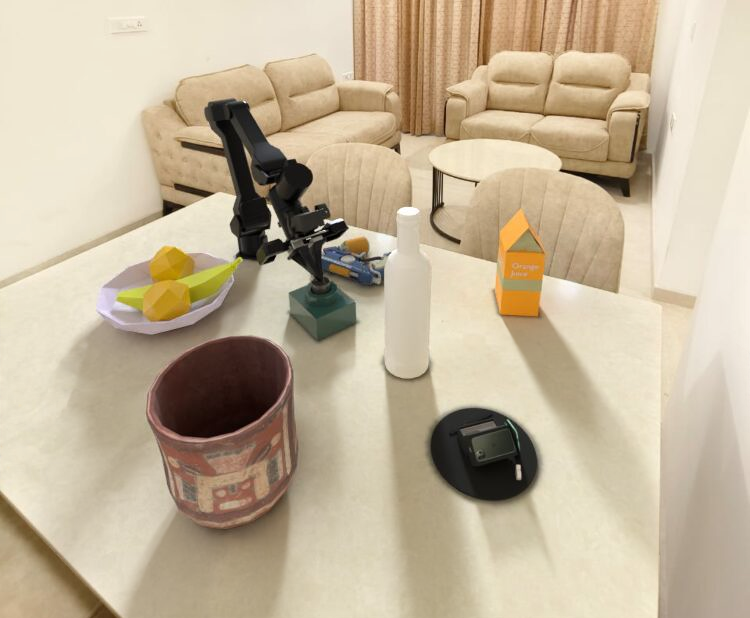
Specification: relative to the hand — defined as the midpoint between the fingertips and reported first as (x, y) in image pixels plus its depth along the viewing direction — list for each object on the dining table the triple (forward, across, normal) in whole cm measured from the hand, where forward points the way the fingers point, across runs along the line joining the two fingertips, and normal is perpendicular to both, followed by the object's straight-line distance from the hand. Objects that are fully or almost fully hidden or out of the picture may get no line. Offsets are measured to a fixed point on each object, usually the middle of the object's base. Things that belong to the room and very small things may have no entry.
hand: (320, 279), depth 98 cm
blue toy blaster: (-2, +18, +15) cm, 23 cm away
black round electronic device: (+35, +2, -22) cm, 42 cm away
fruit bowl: (-9, -23, +22) cm, 33 cm away
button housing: (+6, 0, +6) cm, 9 cm away
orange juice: (+21, +35, -8) cm, 41 cm away
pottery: (+24, -28, -10) cm, 38 cm away
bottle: (+21, +5, -8) cm, 23 cm away
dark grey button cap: (+2, 0, +2) cm, 2 cm away
